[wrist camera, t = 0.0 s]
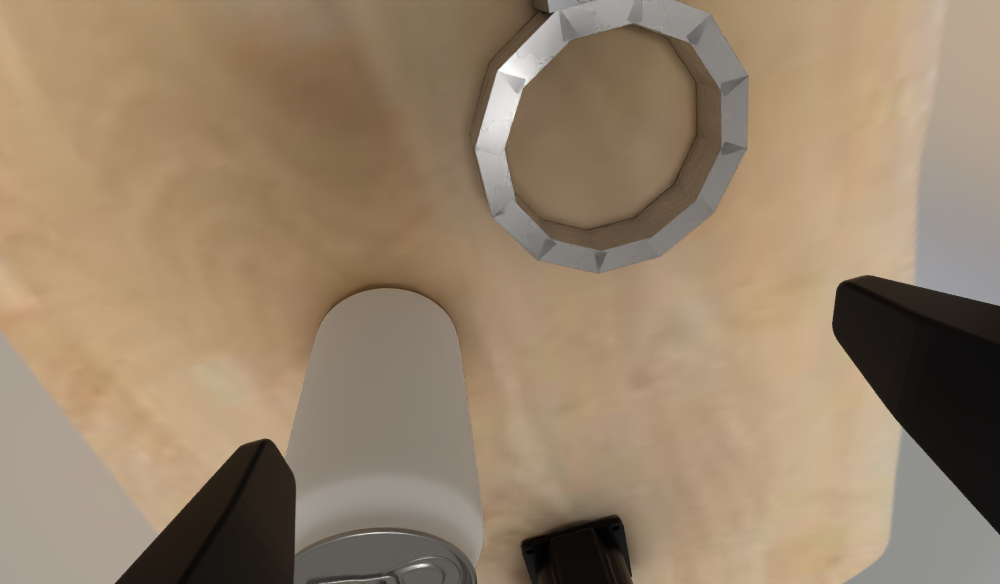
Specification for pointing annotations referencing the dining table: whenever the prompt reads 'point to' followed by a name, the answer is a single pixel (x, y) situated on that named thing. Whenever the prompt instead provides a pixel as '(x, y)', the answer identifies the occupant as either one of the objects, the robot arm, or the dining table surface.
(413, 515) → the can
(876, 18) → the dining table surface
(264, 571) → the robot arm
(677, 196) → the shaft seat
